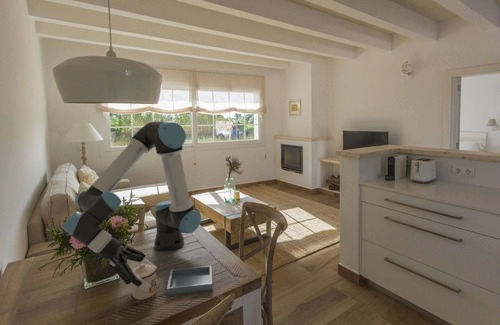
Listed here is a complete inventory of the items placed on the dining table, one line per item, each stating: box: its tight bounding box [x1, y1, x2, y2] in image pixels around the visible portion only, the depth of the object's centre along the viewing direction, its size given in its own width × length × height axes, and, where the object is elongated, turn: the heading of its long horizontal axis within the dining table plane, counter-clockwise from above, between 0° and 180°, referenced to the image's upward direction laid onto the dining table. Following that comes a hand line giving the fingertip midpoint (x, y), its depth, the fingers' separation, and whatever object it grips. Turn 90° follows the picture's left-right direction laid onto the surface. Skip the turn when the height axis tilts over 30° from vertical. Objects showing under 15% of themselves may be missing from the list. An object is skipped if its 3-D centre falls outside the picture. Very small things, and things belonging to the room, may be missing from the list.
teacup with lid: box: [130, 263, 158, 300], centre depth 105 cm, size 12×9×12 cm
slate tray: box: [166, 265, 213, 297], centre depth 110 cm, size 14×17×3 cm
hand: (151, 279), depth 106 cm, fingers closed on teacup with lid, 12 cm apart
